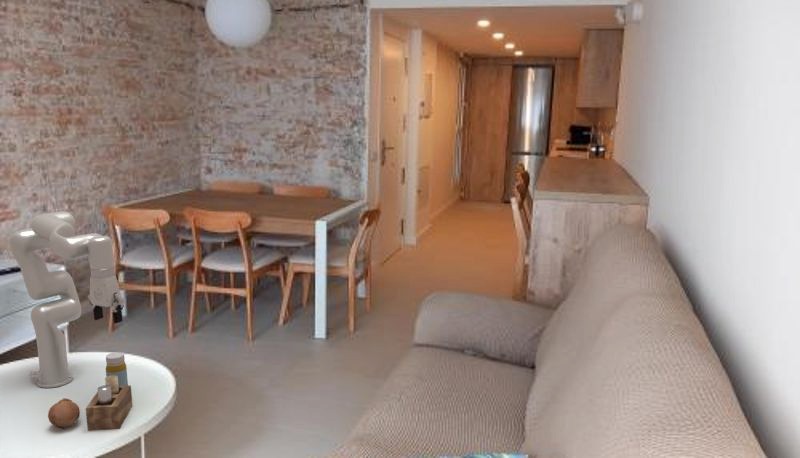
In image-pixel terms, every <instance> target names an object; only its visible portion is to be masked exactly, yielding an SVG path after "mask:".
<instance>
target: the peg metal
mask: <svg viewBox="0 0 800 458" xmlns="http://www.w3.org/2000/svg"><path fill="white" fill-rule="evenodd" d="M97 392H98V399H99V406H102V405H112V395H111V386H110V385H106V384H104V385H100V386H99V387H97Z"/></svg>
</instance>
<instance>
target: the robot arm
mask: <svg viewBox="0 0 800 458" xmlns="http://www.w3.org/2000/svg"><path fill="white" fill-rule="evenodd" d="M76 224H77V223H76V219H75V217H74V216H73V214H72V213H70V212H68V211H56V212H54V211H53V212H48V213H42V214H39V215H36V216H35V217H34V218H32V220H31V222H30V228H24V229H21V230H17V231H15V232H14V233H12V234H11V235H10V237H9V242H8V243H9V245H8V246H9V250H10V253H11V254H12V256H13V259H14V260H15V261H16V263H17V264H18V266H19V269H20V272H21V276H22V277H23V281H24V285H25V288H26V291H27V293H28V296H29V298H31V300H34V301H40V300H41V301H42V300H46V299H49V298H50V299H51V298H54V297H58V296H59V299H53V300H49V301H46V302H42V303H40V304H37V305H36V306H34V307H33V308H32V309H31V312H30V320H31V322H32V326H33V329H34V334H35V340H36V346H37V347H36V348H37V355H38V365H39V370H38V371H33V370H32V371H30V372H29V377H30V379H32V380H33V379H36V386H38V387H40V388H43V389H44V388H47V389H51V388H58V387H60V386H61V387H62V386H64V385H67V384H69V383H71V382H72V381H73V380H74V379H75V378H74V373H72V372H70V371H69V362H68V353H67V345H66V337H65V334H64V332H63V331H62V330H61V329H59V328H58V326H60V325H63V324H66V323H67V324H68V323H69V322H72V321H76V320H78V319H79V318H81V315H82V309H83V308H82V305H81V301H80V299H79V295H78V292H77V288H76V286H75V283H74V279H73V278H72V276H71V274H70V273H69V272H68V271H66V270H63V269H60V270H59V269H58V270H54V271H53V270H52V271H49V270H48V266H47V263H46V261H45V259H44V258H43V257H42V256H40V254H38V253H36V252H35V251H39V250H45V249H46V250H47V249H51V250H52V252H53V253H54V254H55V255H56V256H57V257H61V258H62V259H66V260H75V259H76V260H77V259H81V258H85V257H88V259H89V270H90V277H89V294H88V295H87V299H88V300H89V304H90V306H91V309H92V311H93V318H94V321H98V320H101V319H103V318H104V311H103V308H111V309H112V311H113V312H112V319H113V320H112V322H113V324H116V325H117V324H119V323H121V322H123V312H122V311H123V309H124V305H125V302H126V300H125V299H124V297H122V296H121V293H120V288H119V287H120V286H119V283H118V279H117V276H116V269H115V268H116V267H115V259H114V251H113V249H114V248H113V241H112V239H111V237H110V236H108V235H101V234H99V233H95V232H91V233H87V234H81V235H80V234H79V235H76V234H75V231H76V230H75V229H76Z"/></svg>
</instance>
